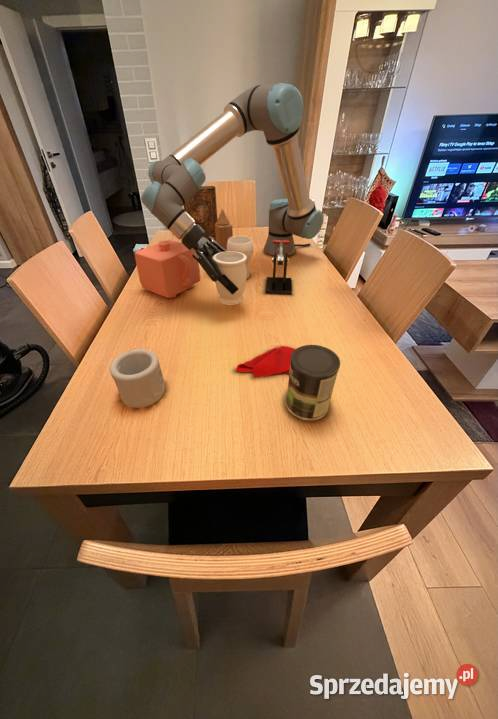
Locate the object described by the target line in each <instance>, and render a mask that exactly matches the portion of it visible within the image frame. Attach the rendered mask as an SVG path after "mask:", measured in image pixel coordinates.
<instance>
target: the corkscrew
mask: <svg viewBox="0 0 498 719" xmlns="http://www.w3.org/2000/svg"><path fill="white" fill-rule="evenodd" d="M273 244H280V250H279V255H278V257H277V259H276V266H284V258H285V257H284V255H282V249H283V244H289V240H274V243H273Z"/></svg>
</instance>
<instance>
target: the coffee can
mask: <svg viewBox="0 0 498 719" xmlns="http://www.w3.org/2000/svg"><path fill="white" fill-rule="evenodd" d="M294 349H295V350H294V351H293V353H292V354H291V364H290V373H289V374H288V381H287V382H288V383H287V389H286V390H287V391H286V397H285V406H286V409H287V410H288V412H289V413H290V414H291V415H292V416H294V417H295V418H297V419H300V420H303V421H308V422H309V421H312V422H313V421H317V420H321V419H322V418H323V417H325V416H326V415H327V413H328V411H329V406H330V402H331V399H332V395H333V391H334V388H335V383H336V381H337V376H338V372H339V370H340V368H341V360H340V357H339V356H338V354H336V352H334V351H333V350H331V349H330V348H329V347H326V346H323V345H318V344H305V345H301V346H299V347H297V348H294Z"/></svg>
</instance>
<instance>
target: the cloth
mask: <svg viewBox="0 0 498 719" xmlns="http://www.w3.org/2000/svg"><path fill="white" fill-rule="evenodd" d="M295 349H296V348H293V347H290V346H287V345H281V346H279V347H274V348H272V349H270V350H268V351H265V352H264V353H262V354H259V355H257V356H255V357H254V358H252V359H251V360H248V361H244V362H243V363H239V364H238V365H236V368H235V372H237V373H252V375H253V378H261V377H270V376H273V375H277V374H278V375H279V374H288V375H289V373H290V364H291V354H292V353H293V351H294V350H295Z"/></svg>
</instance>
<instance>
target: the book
mask: <svg viewBox="0 0 498 719" xmlns="http://www.w3.org/2000/svg"><path fill="white" fill-rule="evenodd" d="M216 189H217V188H216V186H214V185H204V186H203V185H202V186H201V187H200V189H198V190H197V191H196V192H195V194H194V195H193V196H192V197H191V198H190V199H189V200H188V201H187V202H186V203H185V204H184V205H183V206H182V207H183V209H184V210H185V211H186V212H187V213H188V214H189V215H190V216H191V217H192V218H193V219H194V220H195V224H198V225H199V226H200V227H201V228H202V229H203V230H204V231H205V235H204V237H205V238H206V239H207V238H208V237H209V236H211V237H212V238H213V239H214V240H215V241H216V234H215V223H217V220H218V204H217V190H216Z"/></svg>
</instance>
